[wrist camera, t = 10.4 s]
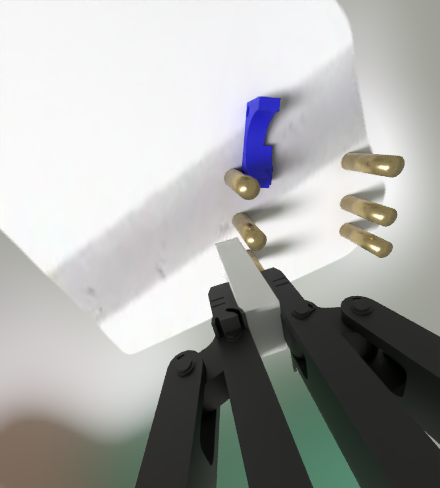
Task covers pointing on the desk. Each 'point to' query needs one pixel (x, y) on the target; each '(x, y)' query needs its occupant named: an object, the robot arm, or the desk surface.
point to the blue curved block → (259, 140)
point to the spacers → (357, 206)
